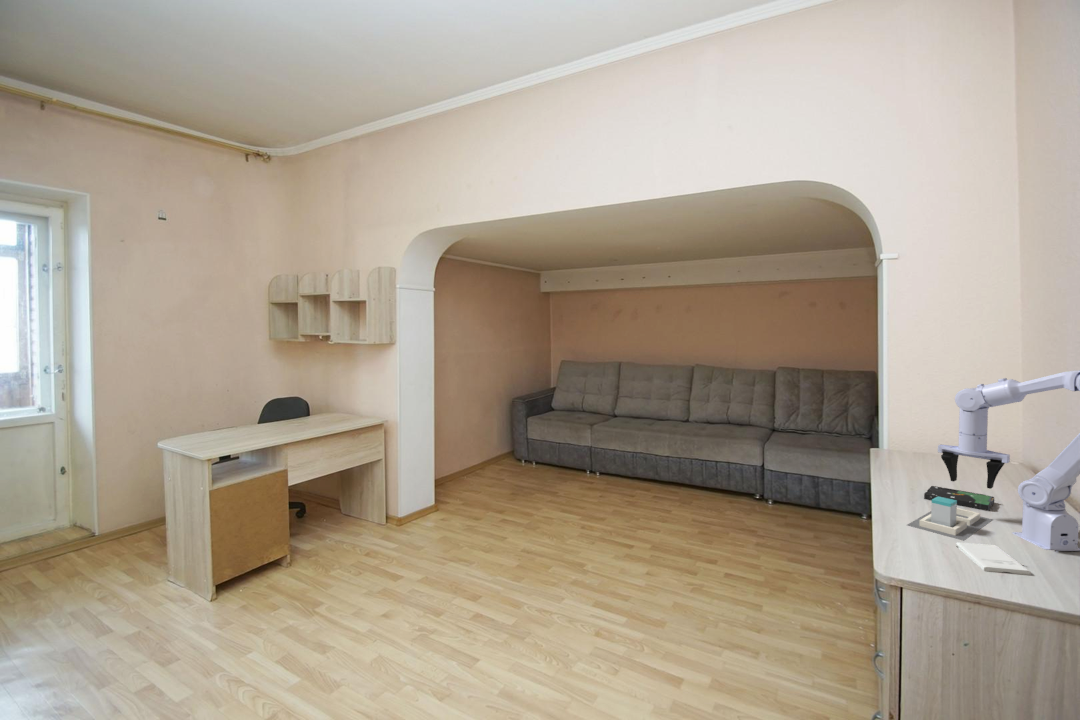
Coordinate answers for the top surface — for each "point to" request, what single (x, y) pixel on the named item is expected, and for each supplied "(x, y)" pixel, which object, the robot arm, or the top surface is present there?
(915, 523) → the mat
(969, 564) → the top surface
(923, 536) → the top surface
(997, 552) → the external hard drive
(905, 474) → the top surface
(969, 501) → the disk drive
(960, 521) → the frame
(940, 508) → the plug
